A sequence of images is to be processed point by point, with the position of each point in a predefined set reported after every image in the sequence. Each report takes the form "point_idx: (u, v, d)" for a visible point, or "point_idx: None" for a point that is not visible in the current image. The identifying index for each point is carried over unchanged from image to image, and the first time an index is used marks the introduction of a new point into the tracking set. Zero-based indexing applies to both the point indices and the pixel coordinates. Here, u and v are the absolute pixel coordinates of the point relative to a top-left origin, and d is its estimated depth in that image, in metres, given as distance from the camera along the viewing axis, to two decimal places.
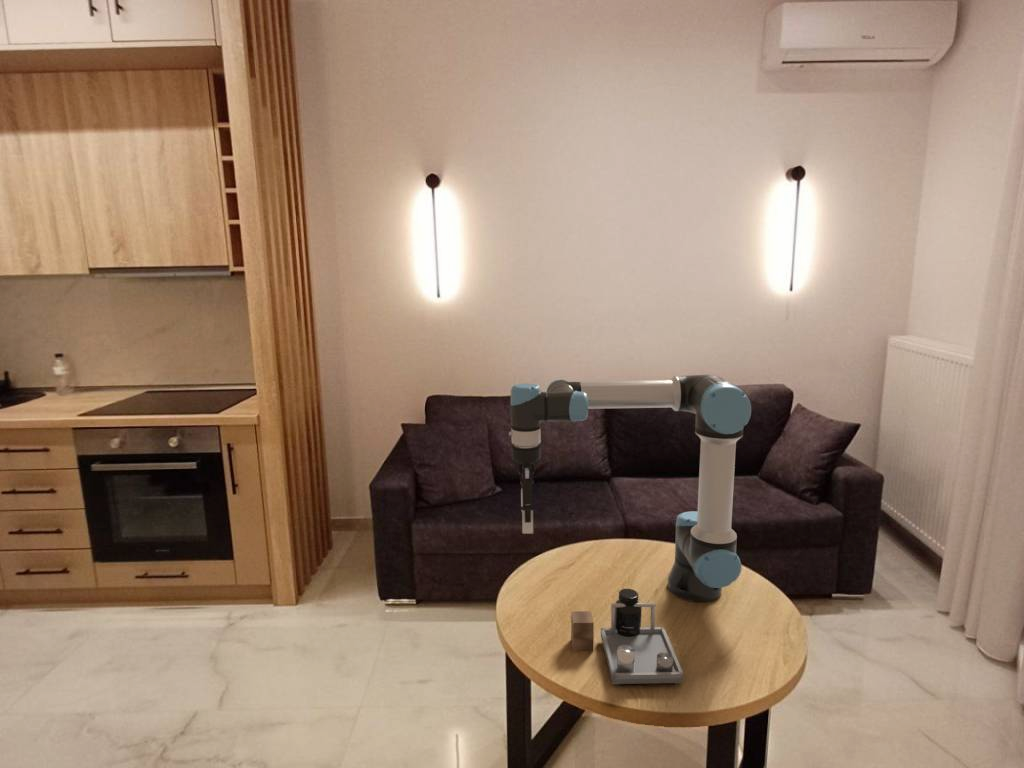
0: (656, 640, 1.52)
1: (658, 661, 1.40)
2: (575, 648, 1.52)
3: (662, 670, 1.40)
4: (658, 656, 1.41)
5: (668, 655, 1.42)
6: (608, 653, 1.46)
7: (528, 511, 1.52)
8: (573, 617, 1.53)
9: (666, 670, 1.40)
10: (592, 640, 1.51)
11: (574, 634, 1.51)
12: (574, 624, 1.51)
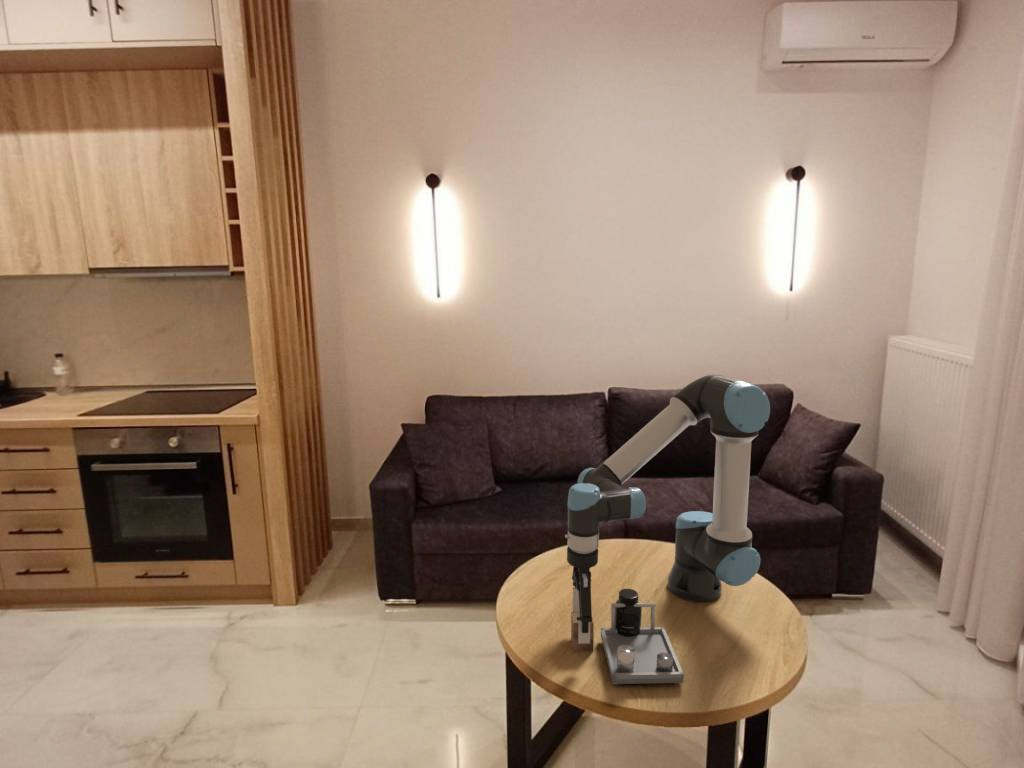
0: (656, 640, 1.52)
1: (658, 661, 1.40)
2: (575, 648, 1.52)
3: (662, 670, 1.40)
4: (658, 656, 1.41)
5: (668, 655, 1.42)
6: (608, 653, 1.46)
7: (586, 622, 1.44)
8: (573, 617, 1.53)
9: (666, 670, 1.40)
10: (592, 640, 1.51)
11: (574, 634, 1.51)
12: (574, 624, 1.51)
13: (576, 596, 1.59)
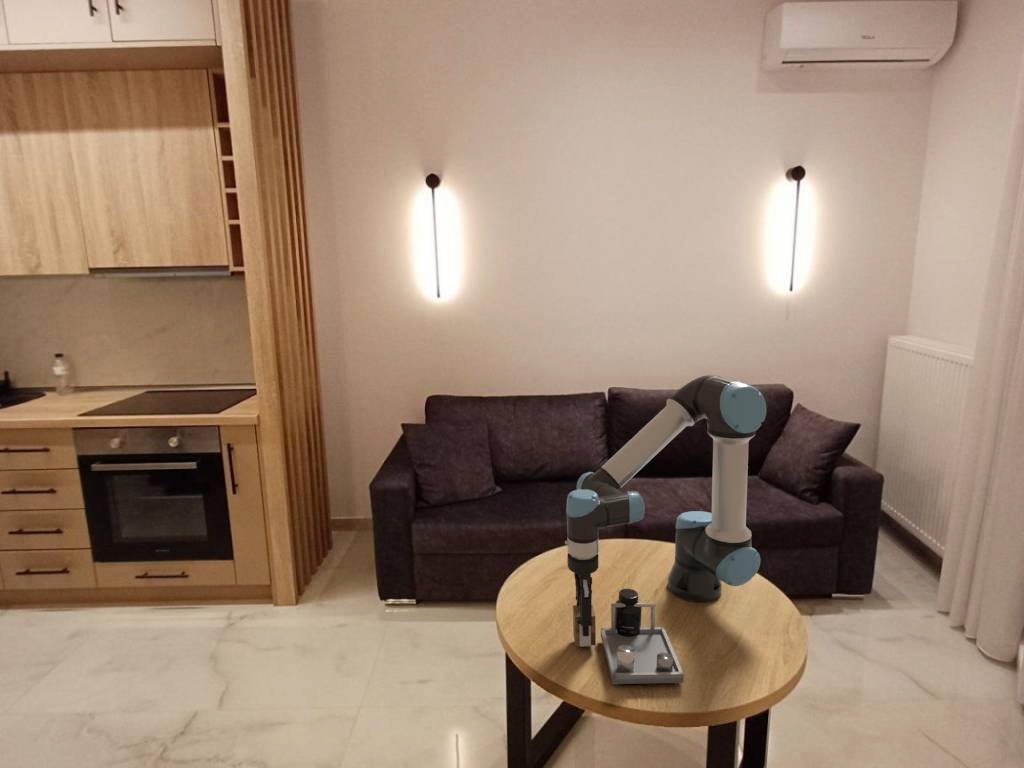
0: (656, 640, 1.52)
1: (658, 661, 1.40)
2: (577, 642, 1.52)
3: (662, 670, 1.40)
4: (658, 656, 1.41)
5: (668, 655, 1.42)
6: (608, 653, 1.46)
7: (586, 625, 1.49)
8: (575, 611, 1.53)
9: (666, 670, 1.40)
10: (594, 634, 1.51)
11: (576, 628, 1.51)
12: (576, 618, 1.50)
13: None
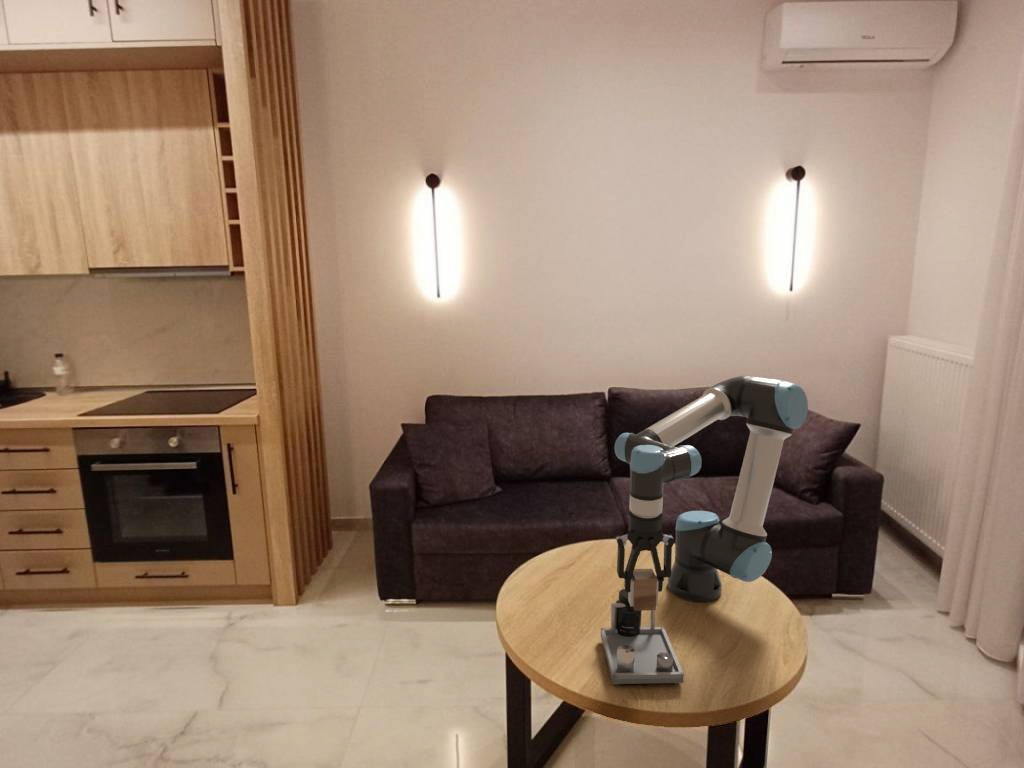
0: (656, 640, 1.52)
1: (658, 661, 1.40)
2: None
3: (662, 670, 1.40)
4: (658, 656, 1.41)
5: (668, 655, 1.42)
6: (608, 653, 1.46)
7: (625, 579, 1.45)
8: (641, 569, 1.47)
9: (666, 670, 1.40)
10: (634, 597, 1.44)
11: None
12: None
13: None
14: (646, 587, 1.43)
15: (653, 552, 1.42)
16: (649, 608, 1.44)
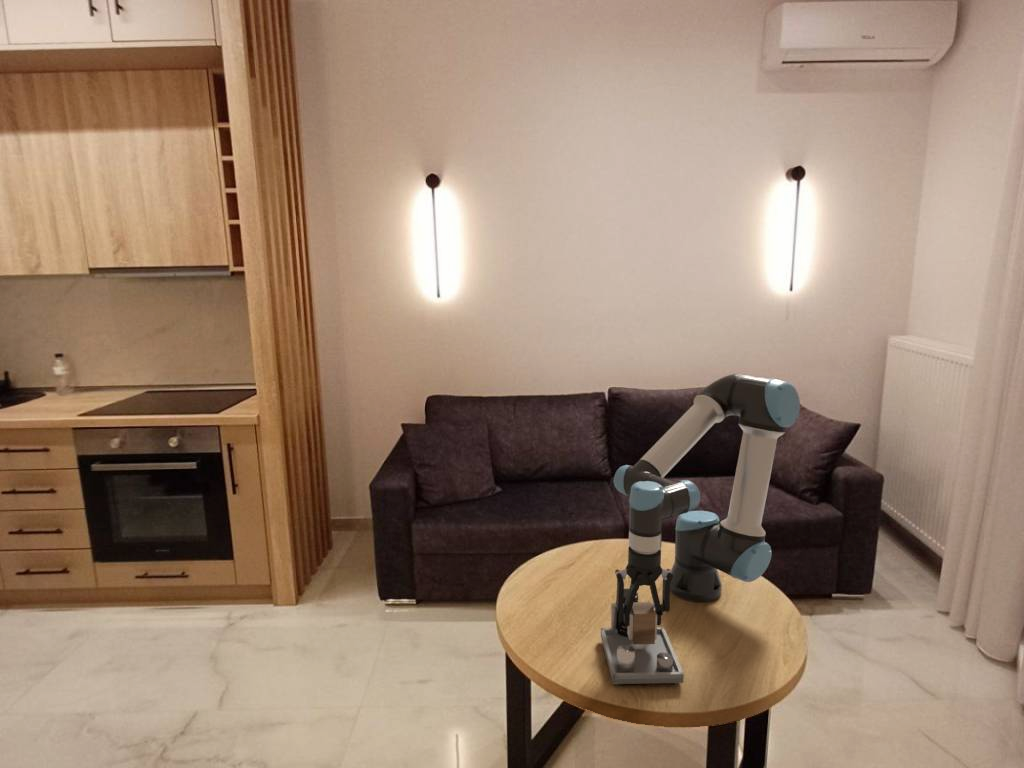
0: (656, 640, 1.52)
1: (658, 661, 1.40)
2: None
3: (662, 670, 1.40)
4: (658, 656, 1.41)
5: (668, 655, 1.42)
6: (608, 653, 1.46)
7: (624, 613, 1.47)
8: (640, 602, 1.49)
9: (666, 670, 1.40)
10: (633, 631, 1.46)
11: None
12: None
13: None
14: (645, 621, 1.45)
15: (652, 587, 1.44)
16: (648, 642, 1.46)
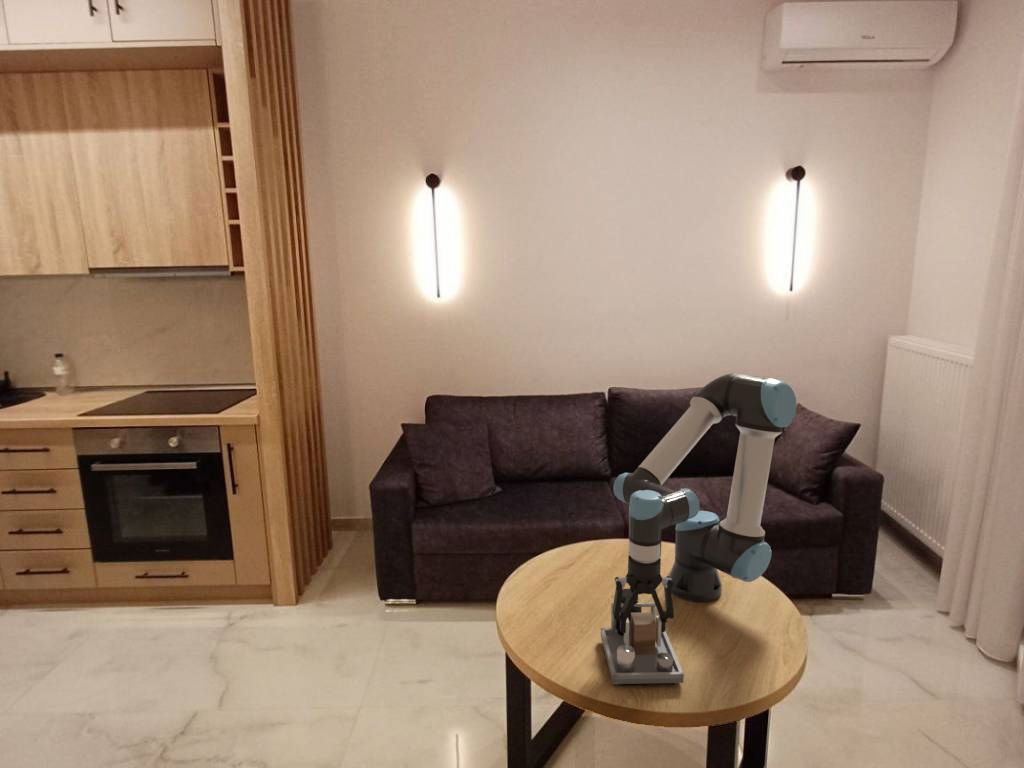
0: None
1: (658, 661, 1.40)
2: (630, 639, 1.51)
3: (662, 670, 1.40)
4: (658, 656, 1.41)
5: (668, 655, 1.42)
6: (608, 653, 1.46)
7: (620, 620, 1.48)
8: (640, 613, 1.50)
9: (666, 670, 1.40)
10: (634, 642, 1.46)
11: None
12: None
13: (656, 625, 1.49)
14: (645, 631, 1.46)
15: (653, 595, 1.45)
16: (648, 652, 1.47)
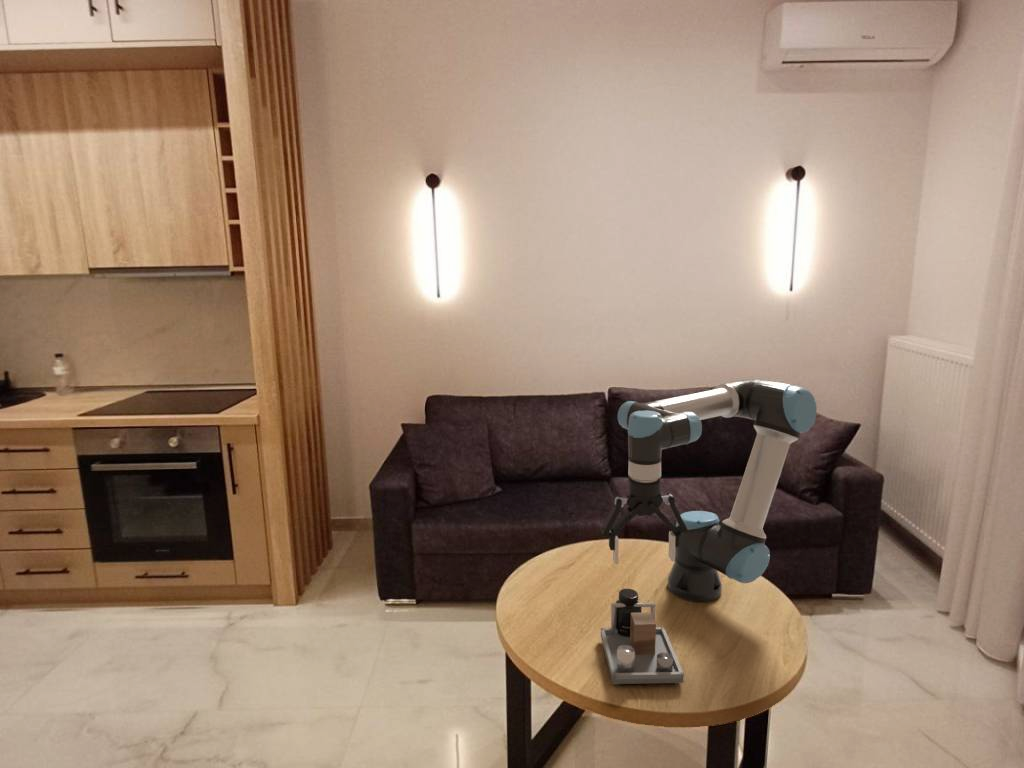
0: (656, 640, 1.52)
1: (658, 661, 1.40)
2: (630, 639, 1.51)
3: (662, 670, 1.40)
4: (658, 656, 1.41)
5: (668, 655, 1.42)
6: (608, 653, 1.46)
7: (609, 537, 1.46)
8: (640, 613, 1.50)
9: (666, 670, 1.40)
10: (634, 642, 1.46)
11: None
12: None
13: (669, 541, 1.48)
14: (645, 631, 1.46)
15: (658, 514, 1.44)
16: (648, 652, 1.47)
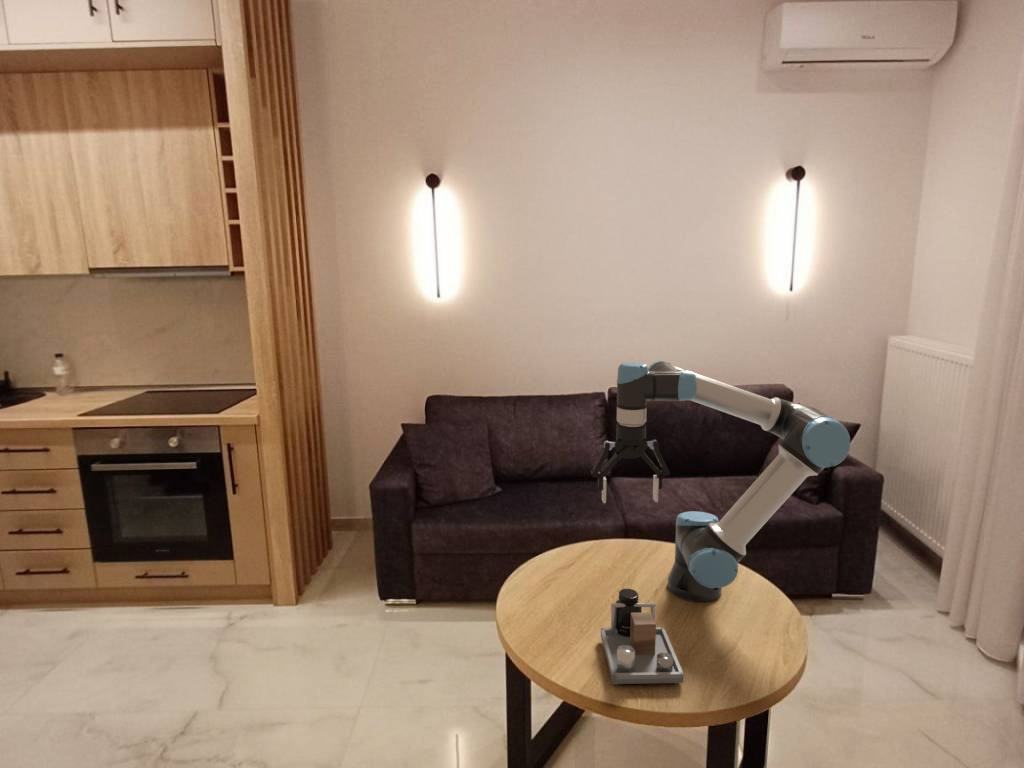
0: (656, 640, 1.52)
1: (658, 661, 1.40)
2: (630, 639, 1.51)
3: (662, 670, 1.40)
4: (658, 656, 1.41)
5: (668, 655, 1.42)
6: (608, 653, 1.46)
7: (598, 478, 1.60)
8: (640, 613, 1.50)
9: (666, 670, 1.40)
10: (634, 642, 1.46)
11: None
12: None
13: (654, 483, 1.61)
14: (645, 631, 1.46)
15: (643, 457, 1.58)
16: (648, 652, 1.47)
